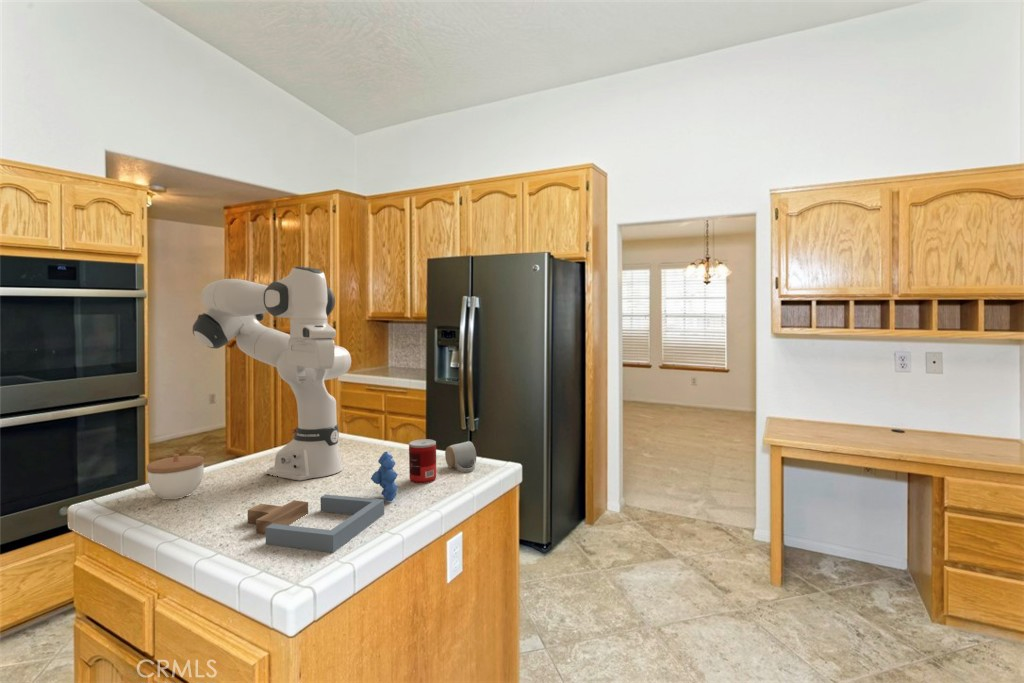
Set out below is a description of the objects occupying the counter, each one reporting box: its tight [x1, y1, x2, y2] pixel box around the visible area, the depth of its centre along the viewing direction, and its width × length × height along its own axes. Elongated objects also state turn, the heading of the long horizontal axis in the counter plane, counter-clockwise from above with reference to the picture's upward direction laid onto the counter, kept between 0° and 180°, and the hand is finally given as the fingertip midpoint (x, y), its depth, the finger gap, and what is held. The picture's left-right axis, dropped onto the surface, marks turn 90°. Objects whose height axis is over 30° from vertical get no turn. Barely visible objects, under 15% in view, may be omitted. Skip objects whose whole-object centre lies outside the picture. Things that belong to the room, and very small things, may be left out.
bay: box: [265, 494, 385, 554], centre depth 108 cm, size 16×20×4 cm
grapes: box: [370, 451, 399, 502], centre depth 126 cm, size 12×7×12 cm, turn 27°
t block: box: [247, 499, 309, 535], centre depth 112 cm, size 10×12×3 cm
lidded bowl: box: [146, 453, 205, 500], centre depth 130 cm, size 13×13×11 cm
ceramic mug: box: [444, 440, 477, 473], centre depth 152 cm, size 11×8×8 cm
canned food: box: [408, 438, 437, 485], centre depth 141 cm, size 8×8×11 cm
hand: (309, 384), depth 124 cm, fingers open, 8 cm apart
